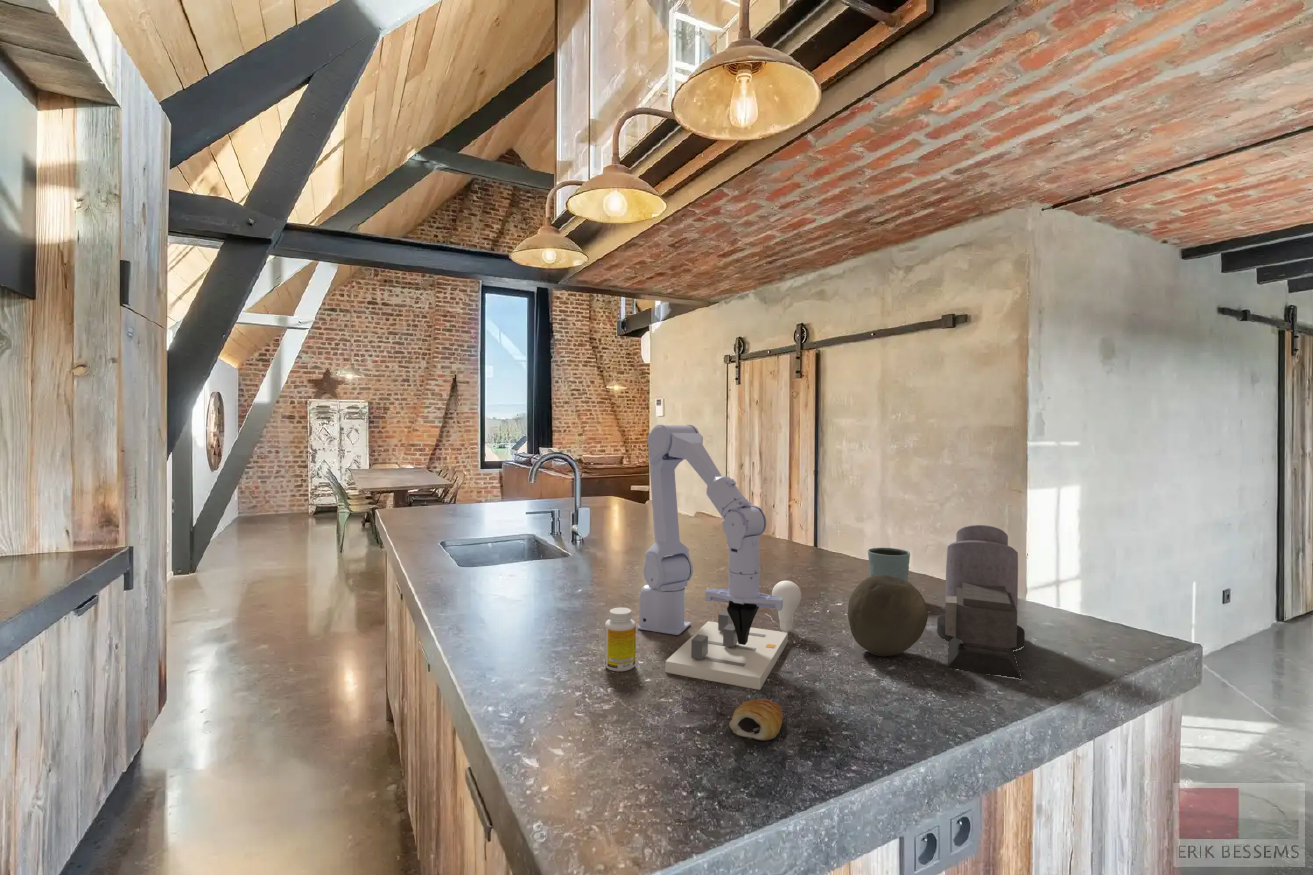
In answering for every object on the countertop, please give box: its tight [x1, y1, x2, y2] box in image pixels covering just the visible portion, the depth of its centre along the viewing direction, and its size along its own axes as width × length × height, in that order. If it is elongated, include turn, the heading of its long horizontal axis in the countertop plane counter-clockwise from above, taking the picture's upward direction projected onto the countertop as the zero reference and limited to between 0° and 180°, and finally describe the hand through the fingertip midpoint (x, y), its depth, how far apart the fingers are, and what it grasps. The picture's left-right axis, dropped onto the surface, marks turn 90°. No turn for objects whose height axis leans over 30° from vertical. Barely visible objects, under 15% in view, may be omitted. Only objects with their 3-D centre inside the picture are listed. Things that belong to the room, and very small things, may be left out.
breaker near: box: [691, 634, 708, 660], centre depth 107 cm, size 2×3×3 cm, turn 157°
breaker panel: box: [664, 620, 789, 691], centre depth 113 cm, size 17×24×2 cm
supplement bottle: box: [604, 607, 637, 673], centre depth 108 cm, size 6×6×10 cm
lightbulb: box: [771, 580, 802, 633], centre depth 127 cm, size 6×6×11 cm
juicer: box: [936, 524, 1026, 679], centre depth 119 cm, size 30×16×24 cm, turn 154°
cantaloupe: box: [847, 575, 929, 657], centre depth 115 cm, size 14×14×15 cm
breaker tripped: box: [723, 623, 738, 647], centre depth 113 cm, size 2×3×3 cm, turn 157°
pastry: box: [728, 698, 783, 741], centre depth 87 cm, size 9×7×4 cm
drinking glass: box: [867, 547, 911, 582], centre depth 154 cm, size 10×10×12 cm
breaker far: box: [717, 609, 733, 631], centre depth 122 cm, size 2×3×3 cm, turn 157°
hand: (742, 642), depth 112 cm, fingers closed
